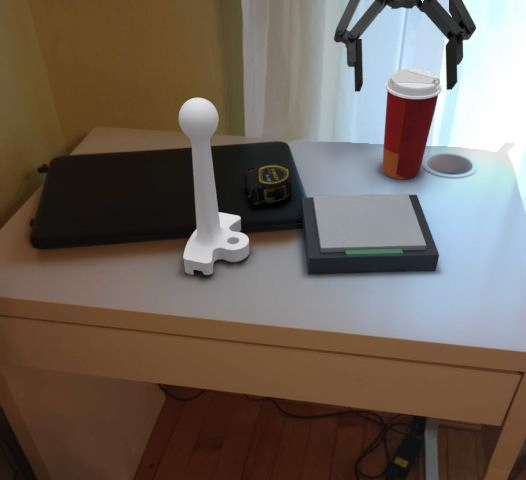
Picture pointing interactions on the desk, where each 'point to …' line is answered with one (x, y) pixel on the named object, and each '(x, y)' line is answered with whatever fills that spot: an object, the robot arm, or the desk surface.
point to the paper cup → (408, 120)
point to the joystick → (208, 196)
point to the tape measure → (268, 183)
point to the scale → (367, 234)
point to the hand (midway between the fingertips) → (405, 87)
